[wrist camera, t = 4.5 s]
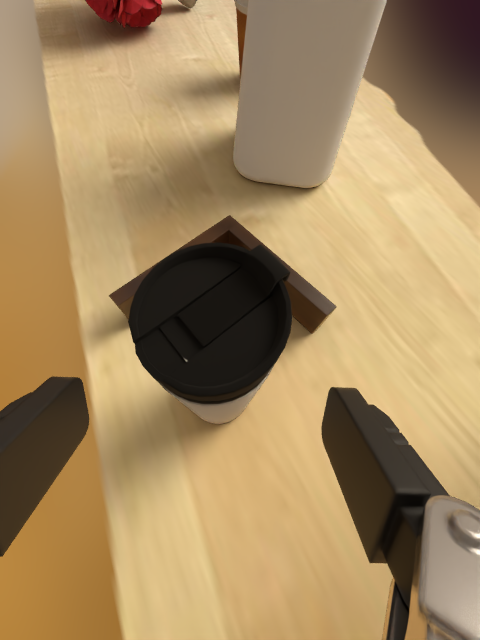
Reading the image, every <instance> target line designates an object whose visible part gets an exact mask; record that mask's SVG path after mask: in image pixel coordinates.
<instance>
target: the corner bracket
mask: <svg viewBox="0 0 480 640" xmlns="http://www.w3.org/2000/svg"><path fill="white" fill-rule="evenodd" d="M217 242H219V243H227V244H234V245H237V246H240V247H243V248H246V249H248V250H250V251H251V250H252V249H254V248H255V247H257V246H258V245H260V244H261V245H262V246H264V247H265V248H266V249H267V250H269V251H270V252H271V253H272V254H273V255H274V256H275V257H276V258H277V259H278V260H279V261H280V262H281V263H282V264H283V265H284V266H285V267H286V268H287V269H288V270H289V271H290V275H289V278H288V280H287V281H286V282H285V281H284V280H283V282H284V284H285V286H286V288H287V291H288V294H289V297H290V301H291V309H292V316H293V317H294V318H295V319H297V320H298V321H299V322H300V323H301V324H302V325H303V326H304V327H305V328H306V329H307V330H309V331H310V332H311V333H312V334H313V333H314V332H315V331H316V330H317V329H318V328H319V327H320V326H321V325H322V324H323V322H324V321H325V320H326V319H327V318H328V317H329V315H330V314H331V313H332V312H333V311H334V309H335V308H336V306H335V305H334V304H333V303H332V302H331V301H329V300H328V299H327V298H326V297H325V296H324V295H322V294H321V293H320V292H319V291H318V290H317V289H315V288H314V287H313V286H312V285H311V284H310V283H308V282H307V281H306V280H305V279H304V278H303V277H301V276H300V275H299V274H298V273H297V272H296V271H294V270H293V269H292V268H291V267H290V266H289V265H287V264H286V263H285V262H284V261H283V260H281V259H280V258H279V257H278V256H277V255H276V254H274V253H273V252H272V251H271V250H270V249H269V248H267V247H266V246H265V245H264V244H263V243H262V242H260V241H259V240H258V239H257V238H256V237H255V236H253V235H252V234H251V233H250V232H249V231H248V230H246V229H245V228H244V227H243V226H242V225H241V224H239V223H238V222H237V221H236V220H235V219H234V218H232V217H231V216H230V215H229V216H227V217H226V218H224V219H223V220H221V221H220V222H218V223H217V224H215V225H214V226H212V227H211V228H209V229H208V230H206V231H205V232H203V233H202V234H200V235H199V236H197V237H196V238H194V239H193V240H191V241H190V242H188V243H187V244H185V245H184V246H182V247H181V248H179V249H178V250H176V251H179V250H181V249H184V248H186V247H189V246H193V245H197V244H202V243H217ZM176 251H175V252H176ZM173 253H174V252H173ZM173 253H172V254H173ZM170 255H171V254H170ZM167 257H168V256H167ZM161 261H162V260H161ZM161 261H160V262H161ZM158 263H159V262H158ZM158 263H157V264H158ZM157 264H155V265H154V266H152V267H151V268H149V269H148V270H146V271H145V272H143V273H142V274H140V275H139V276H137V277H136V278H134V279H133V280H131V281H130V282H128V283H127V284H125V285H124V286H122V287H121V288H119V289H118V290H116V291H115V292H113V293H112V294H110V295H109V296H110V298H111V299H112V300H113V301H114V302H115V304H116V305H117V306H118V307H119V309H120V310H121V311H122V312H123V313H124V315H125V316H126V317H127V318H128V319H129V314H130V307H131V304H132V301H133V298H134V295H135V292H136V291H137V289H138V287H139V285H140V284H141V282H142V280H143V279H144V278H145V277H146V275H147V274H148V273H149V272H150V271H151V269H152V268H153V267H155V266H156V265H157Z"/></svg>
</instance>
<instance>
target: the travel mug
mask: <svg viewBox="0 0 480 640" xmlns="http://www.w3.org/2000/svg"><path fill="white" fill-rule="evenodd" d="M289 275H290V271H289V270H288V269H287V268H286V267H285V266H284V265H283V264H282V263H281V262H280V261H279V260H278V259H277V258H276V257H275V256H274V255H273V254H272V253H271V252H270V251H269V250H267V249H266V248H265V247H264V246H262V245H261V244H260V245H258V246H257V247H255V248H254V249H252V250H251V251H250V250H248V249H246V248H243V247H240V246H237V245H234V244H227V243H219V242H217V243H202V244H197V245H193V246H189V247H186V248H184V249H181V250H179V251H176V252H174V253H173V254H171V255H169V256H168V257H166V258H164V259H163V260H162V261H161V262H159V263H158V264H157V265H156V266H155V267H153V268H152V269H151V271H150V272H149V273H148V274H147V275H146V277H145V278H144V279H143V280H142V282H141V284H140V285H139V287H138V289H137V291H136V292H135V295H134V298H133V301H132V304H131V307H130V314H129V321H128V322H129V327H130V331H131V335H132V339H133V342H134V343H135V350H136V355H137V356H138V358H139V360H140V362H141V363H142V365H143V367H144V368H145V369H146V370H147V371H148V372H149V373H150V374H151V376H152V377H153V378H154V379H155V380H157V381H158V382H159V383H160V385H161V386H162V387H163V388H164V389H165V390H166V391H168V392H169V393H170V394H171V395H173V396H174V397H175V398H176V399H178V400H179V401H180V402H181V403H183V404H184V405H185V406H186V407H188V408H189V409H190V410H191V411H193V412H194V413H195V414H196V415H198V416H199V417H200V418H202V419H203V420H205V421H207V422H209V423H214V424H223V423H227V422H230V421H232V420H234V419H236V418H237V417H238V416H239V415H240V414H241V413H242V412H243V411H244V409H245V408H246V407H247V405H248V404H249V402H250V401H251V400H252V398H253V397H254V395H255V394H256V392H257V391H258V390H259V388H260V387H261V385H262V384H263V383H264V381H265V380H266V378H267V377H268V375H269V373H270V372H271V370H272V368H273V366H274V364H275V363H276V361H277V360H278V358H279V356H280V355H281V353H282V351H283V350H284V348H285V346H286V343H287V340H288V337H289V334H290V330H291V322H292V309H291V301H290V297H289V294H288V291H287V288H286V286H285V284H284V282H283V280H284V281H285V282H286V281H287V280H288V278H289Z"/></svg>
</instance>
